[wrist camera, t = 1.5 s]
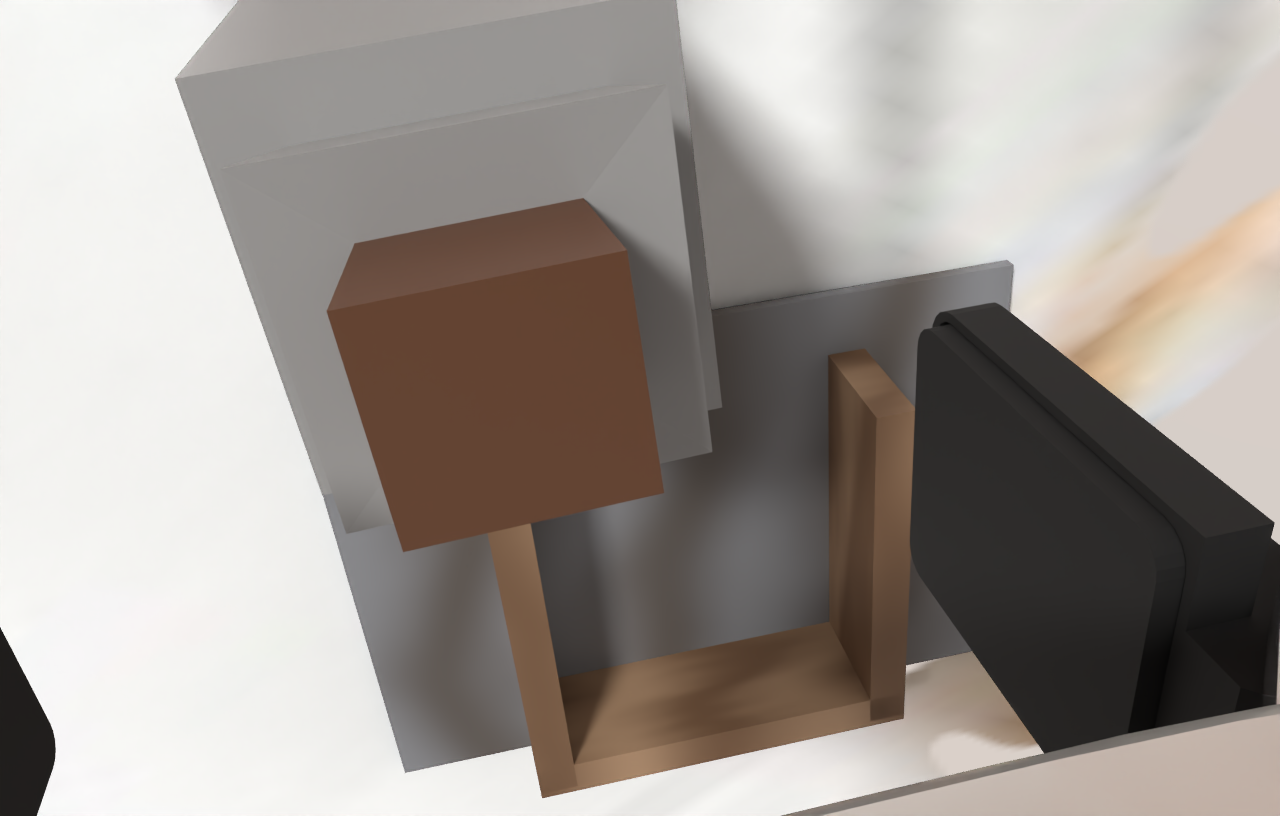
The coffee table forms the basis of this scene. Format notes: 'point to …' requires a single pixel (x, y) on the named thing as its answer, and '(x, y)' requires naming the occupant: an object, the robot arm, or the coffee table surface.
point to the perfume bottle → (467, 248)
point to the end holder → (691, 569)
